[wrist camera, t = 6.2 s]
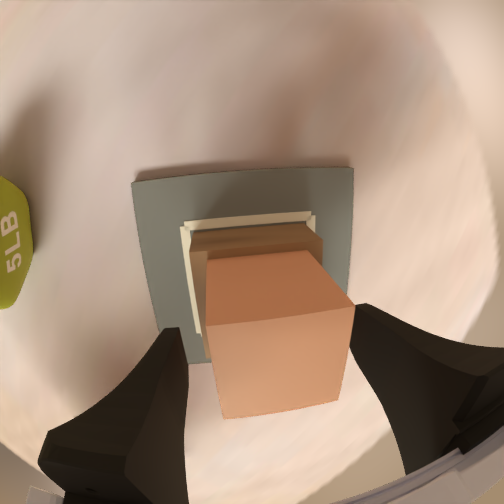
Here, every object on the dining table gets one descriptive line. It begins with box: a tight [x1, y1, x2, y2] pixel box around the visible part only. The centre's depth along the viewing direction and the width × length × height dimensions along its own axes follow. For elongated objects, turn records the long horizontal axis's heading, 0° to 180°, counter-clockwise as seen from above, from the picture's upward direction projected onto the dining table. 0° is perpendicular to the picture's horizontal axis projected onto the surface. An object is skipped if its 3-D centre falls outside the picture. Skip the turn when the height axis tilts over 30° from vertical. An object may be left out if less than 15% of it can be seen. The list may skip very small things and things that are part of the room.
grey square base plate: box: [131, 167, 354, 364], centre depth 17 cm, size 12×12×1 cm
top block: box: [206, 250, 355, 419], centre depth 11 cm, size 4×4×5 cm
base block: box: [189, 223, 323, 359], centre depth 15 cm, size 6×6×3 cm
